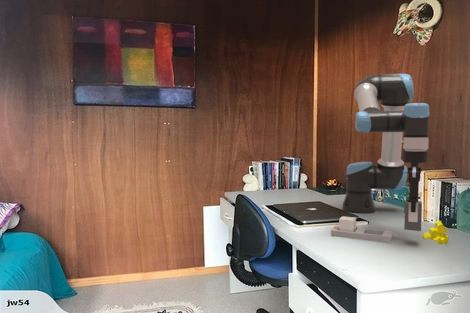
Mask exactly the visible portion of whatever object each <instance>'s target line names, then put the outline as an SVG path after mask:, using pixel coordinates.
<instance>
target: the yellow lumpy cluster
mask: <svg viewBox="0 0 470 313" xmlns="http://www.w3.org/2000/svg"><path fill="white" fill-rule="evenodd" d="M447 234H449V231H448V229H447V227H446V226H445V225H444V224H443V223H442V221H441V220H437V221H435V223H434V227H433V226H431V227H430V228H429V231H425V232H424V234H423V235H422V238H423V239H425V240H433V242H435V241H437V243H436V244H437V245H446V243H449V236H448V235H447Z"/></svg>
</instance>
